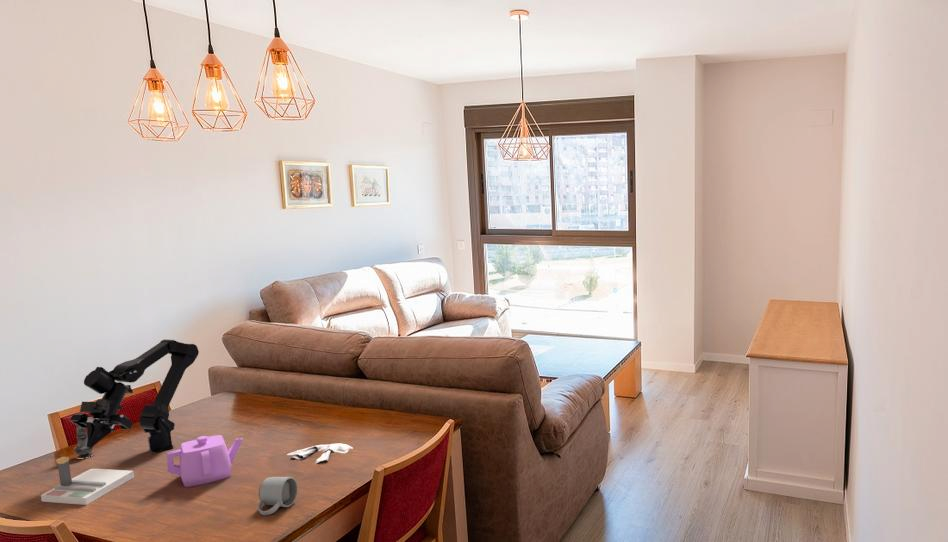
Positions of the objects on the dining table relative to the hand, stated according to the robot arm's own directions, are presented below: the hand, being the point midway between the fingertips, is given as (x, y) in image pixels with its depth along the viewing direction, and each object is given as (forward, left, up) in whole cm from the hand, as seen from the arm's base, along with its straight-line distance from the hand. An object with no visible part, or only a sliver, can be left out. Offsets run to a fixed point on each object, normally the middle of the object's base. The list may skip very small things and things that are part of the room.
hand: (88, 447), depth 197 cm
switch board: (+1, +3, -11) cm, 12 cm away
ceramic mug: (-38, +55, -12) cm, 68 cm away
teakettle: (-29, +19, -12) cm, 36 cm away
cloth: (-60, +29, -12) cm, 68 cm away
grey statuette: (0, -28, -12) cm, 31 cm away
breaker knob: (+7, +2, -9) cm, 12 cm away
